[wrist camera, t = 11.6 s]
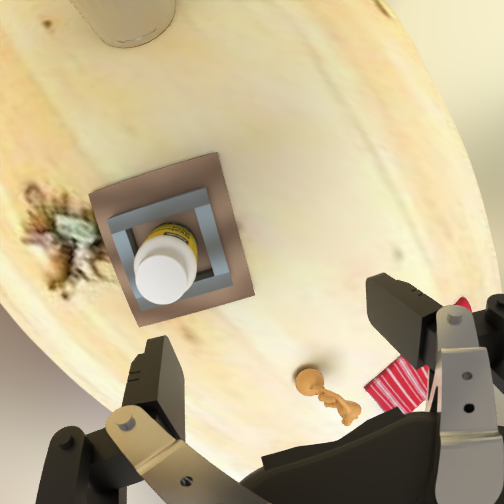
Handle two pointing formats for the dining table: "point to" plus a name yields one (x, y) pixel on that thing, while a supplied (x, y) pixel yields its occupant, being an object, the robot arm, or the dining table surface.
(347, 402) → the figurine
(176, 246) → the supplement bottle
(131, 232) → the cradle board
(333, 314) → the dining table surface
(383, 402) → the dish towel
